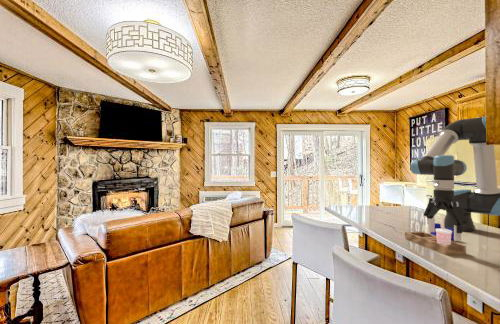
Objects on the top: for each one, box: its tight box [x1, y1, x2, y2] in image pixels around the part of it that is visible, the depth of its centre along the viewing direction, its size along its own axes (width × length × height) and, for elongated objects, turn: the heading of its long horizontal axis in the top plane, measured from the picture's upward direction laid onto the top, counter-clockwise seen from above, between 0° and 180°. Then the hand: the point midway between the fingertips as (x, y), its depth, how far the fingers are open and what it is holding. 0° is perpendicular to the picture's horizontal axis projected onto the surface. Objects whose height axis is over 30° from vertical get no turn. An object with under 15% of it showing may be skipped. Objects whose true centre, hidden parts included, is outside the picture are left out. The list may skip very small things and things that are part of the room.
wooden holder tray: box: [404, 231, 467, 256], centre depth 124 cm, size 24×10×4 cm, turn 8°
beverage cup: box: [435, 218, 452, 245], centre depth 118 cm, size 6×6×14 cm
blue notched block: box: [429, 222, 455, 241], centre depth 139 cm, size 12×4×6 cm, turn 176°
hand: (443, 236), depth 118 cm, fingers open, 13 cm apart
